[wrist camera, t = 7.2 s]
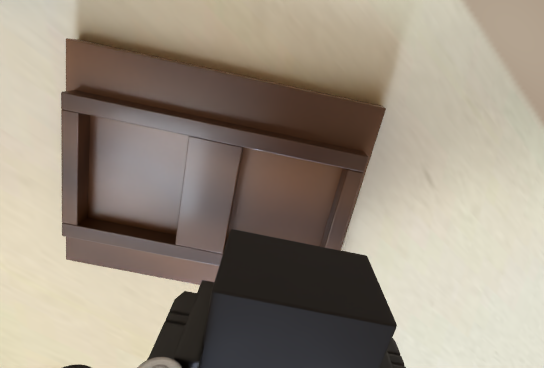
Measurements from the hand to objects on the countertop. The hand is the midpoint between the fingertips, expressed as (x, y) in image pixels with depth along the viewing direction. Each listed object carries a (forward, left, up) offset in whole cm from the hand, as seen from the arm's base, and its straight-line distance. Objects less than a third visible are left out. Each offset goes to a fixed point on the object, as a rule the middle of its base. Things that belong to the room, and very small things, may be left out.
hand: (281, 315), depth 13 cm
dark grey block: (0, 0, 0) cm, 0 cm away
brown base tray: (0, -5, -12) cm, 13 cm away
